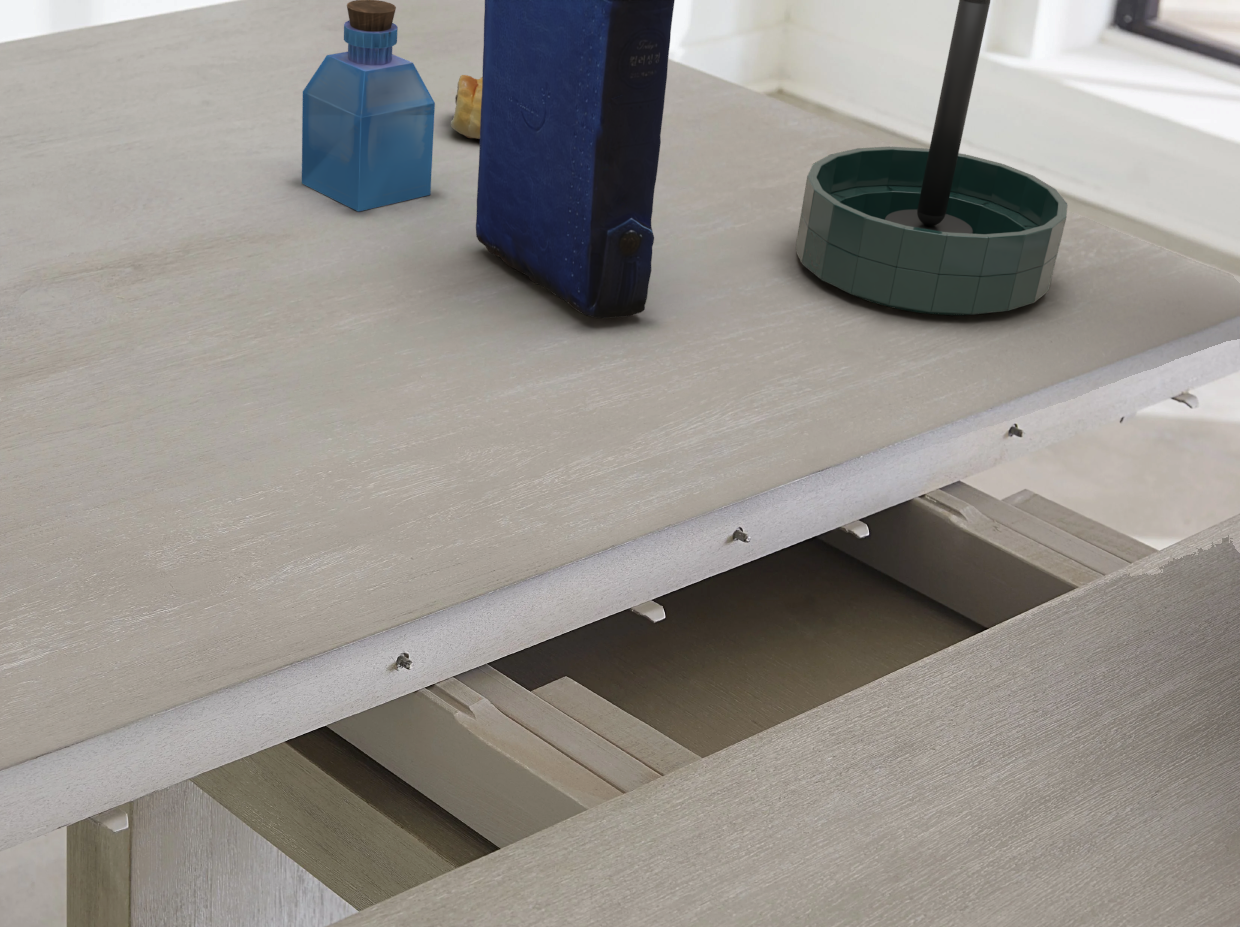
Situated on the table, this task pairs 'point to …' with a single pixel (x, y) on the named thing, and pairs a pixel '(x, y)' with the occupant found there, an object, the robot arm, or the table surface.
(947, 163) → the black stand
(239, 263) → the table surface
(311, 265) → the table surface
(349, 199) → the perfume bottle
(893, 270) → the bowl
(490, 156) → the book
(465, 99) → the pastry
